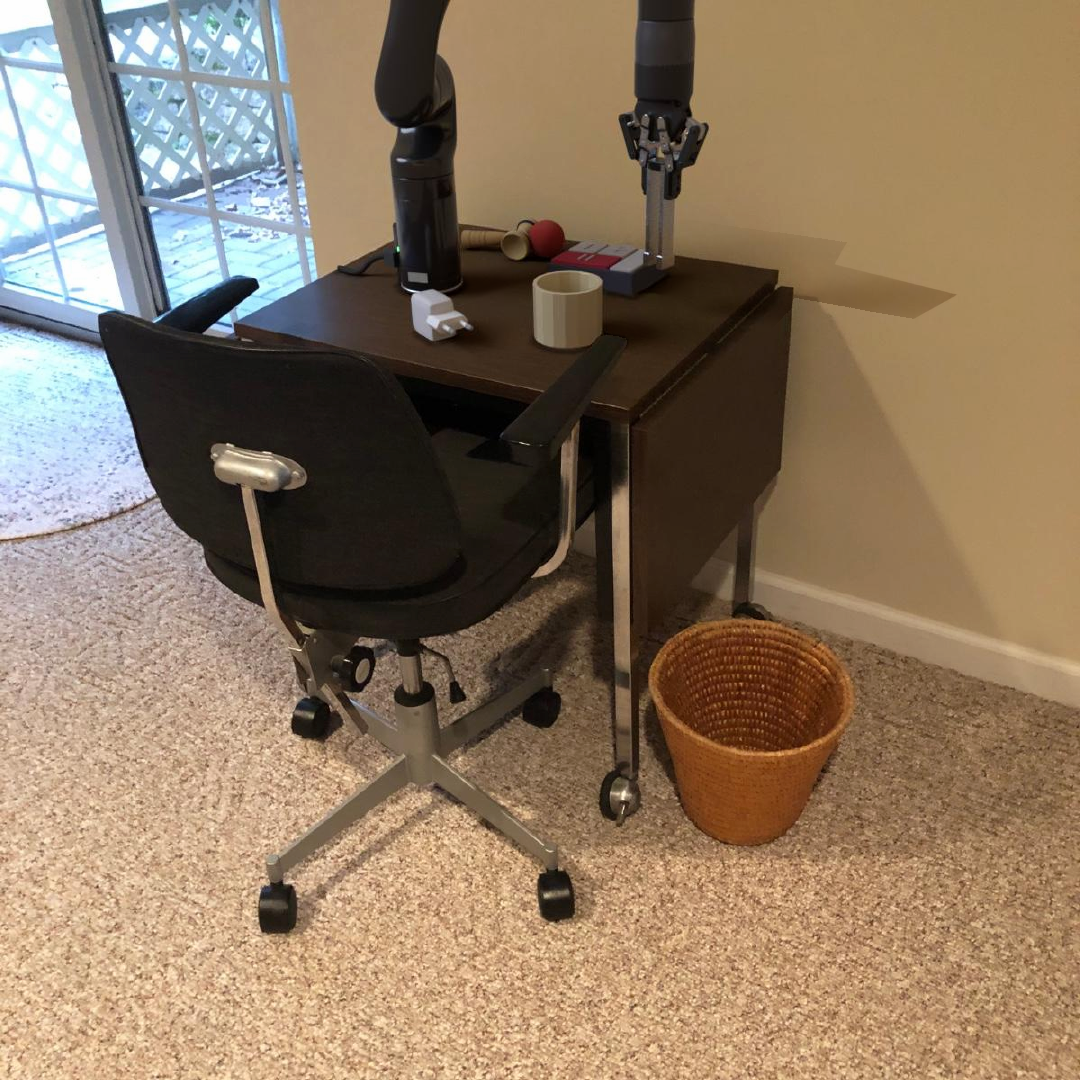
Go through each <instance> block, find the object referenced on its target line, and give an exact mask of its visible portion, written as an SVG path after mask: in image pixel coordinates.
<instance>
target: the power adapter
mask: <svg viewBox="0 0 1080 1080" xmlns="http://www.w3.org/2000/svg"><path fill="white" fill-rule="evenodd" d="M410 301H411V314H412V323H413V328H414V330H415V332H417V333H418V334H420V335H421V336H423V337H425V338H426V339H428V340H429V341H432V342H437V341H441V340H445V339H448V338H452V337H455V336H456V335H457V330H461V329H463V328H465V329H466V330H468V331H469V332H470V331H471V332H472V331H473V330H474V326H473V325H472V324H470V323H468V322H469V319H468V318H467V316H465V314H463V313H461V312H459V311H458V310H456V309H455V308H454V303H453V300H452V299H451V297H449V296H447V294H442V293H440V292H438V291H436V290H434V289H431V290H426V291H422V292H418V293H415V294H413V295H412V294H411V298H410Z"/></svg>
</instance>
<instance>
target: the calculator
mask: <svg viewBox="0 0 1080 1080" xmlns="http://www.w3.org/2000/svg"><path fill="white" fill-rule="evenodd" d="M644 252H645V248H640V249H639V248H638V247H637V246H630V245H623V244H620V245H619V244H610V245H609V244H608V243H604V242H603V243H602V242H594V241H581V242H579V243H578V244H576V245H574V246H572V247H570V248H569V249H568V250H565V251H562V252H561V253H560V254H558V255H556V256H554V257H551V258H550V261H549V262H547V264H546V266H547V267H546V268H547V269H546V270H547V273H550V272H556V271H569V270H571V271H583V272H588V273H592V274H595V275H597V276H599V277H600V278H601V279H602V280H603V290H605V291H609V292H614V293H619V294H625V295H631V296H634V295H636V294H638V293H640V291H642V290H643V291H645V290H646V289H648V288H649V287H651V286H652V285H654V284H655V283H657V282H659V281H660V280H661V279H663V278H664V277H666V276H667V268H666V269H663V270H659V269H656V264H653V265H651V266H645V265H643V253H644Z"/></svg>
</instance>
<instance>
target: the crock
mask: <svg viewBox="0 0 1080 1080" xmlns="http://www.w3.org/2000/svg"><path fill="white" fill-rule="evenodd" d="M603 292H604V289H603V280H602V279H601V278H600V277H599V276H597V275H595V274H592V273H588V272H583V271H571V270H569V271H556V272H550V273H548V272H546V273H544V274H541V275H539V276H537V277H536V278H534V279H533V281H532V310H533V311H532V313H533V336H534V339H535V340H536V341H537V342H538V343H539V344H541V345H543V346H547V347H550V348H555V349H579V348H584V347H589V346H591V344H592V343H593V342H594V341H595V339H596V338H597V337H598V336H600V335H601V334H602V335H603V318H604V317H603V316H604V315H603V313H604V311H603V307H604V304H603V303H604V302H603V301H604V300H603V299H604V296H603V295H604V293H603ZM592 345H593V344H592Z"/></svg>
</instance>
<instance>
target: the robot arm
mask: <svg viewBox="0 0 1080 1080" xmlns="http://www.w3.org/2000/svg"><path fill="white" fill-rule="evenodd" d="M451 1H452V0H389V9H388V15H387V21H386V26H385V31H384V36H383V39H382V45H381V49H380V54H379V58H378V62H377V66H376V70H375V76H374V81H373V82H374V85H373V92H374V99H375V104H376V106H377V109H378V111H379V112H380V114H381V116H382V117H383V119H384V120H385V121H386V122H387V123H389V124H390V125H391V126H393V127H395V128H397V129H396V136H395V141H394V145H393V147H392V149H391V151H390V154H389V168H390V169H389V170H390V178H391V179H390V180H391V187H392V197H393V207H394V218H395V221H394V222H393V224H392V233H393V242H394V243H393V244H394V246H390V247H387V248H383V249H382V252H381V253H376V254H374V255H372V256H370V257H368V258H367V259H366V260H365V262H364V263H363V264H362V265H361V266H360V267H358V268H351V267H347V266H344V265H340V264H338V265H337V266H336V270H337V271H338V272H341V273H343V274H348V275H350V276H357V275H358V276H359V275H362V274H364V273H365V272H366V271H367V270H368V269H369V268H370V267H371V265H372V264H373V263H375V262H377V261H380V260H383V263H384V265H385V266H387V267H391V268H393V269H396V272H397V273H396V274H397V281H398V285H400V286H401V290H402V291H403V292H404V293H406V294H409V295H411V296H412V295H413V294H415V293H418V292H422V291H426V290H431V289H434V290H436V291H438V292H440V293H442V294H444V295H448V294H451V293H454V292H456V291H458V290H460V289H461V288H462V287H463V286H464V281H463V274H462V260H461V259H462V258H461V245H460V229H459V218H458V217H459V216H458V214H459V213H458V202H457V189H456V173H455V171H456V170H455V156H456V151H457V146H458V118H457V116H458V115H457V114H458V113H457V94H456V92H457V91H456V85H455V80H454V76H453V73H452V70H451V67H450V65H449V64H448V62H447V61H446V60H445V58H443V56H441V55H440V54H439V53H438V50H439V49H438V47H439V41H440V34H441V30H442V26H443V21H444V19H445V16H446V12H447V10H448V7H449V5H450V2H451ZM695 9H696V0H637V12H636V13H637V15H636V16H637V17H636V18H637V19H636V26H635V27H636V28H635V35H634V64H633V65H634V66H633V67H634V68H633V70H634V73H633V95H634V97H635V98H636V99H637V100H636V104H635V106H634V108H633V109H634V110H631V111H627V112H624V113H621V114H619V115H618V123H619V126H620V130H621V133H622V136H623V140H624V144H625V148H626V150H627V154H628V157H629V159H630V160H631V161H637V163H638V165H639V166H640V167H641V173H640V174H641V175H640V176H641V177H640V178H641V179H640V181H641V182H640V187H641V190H642V194H643V195H644V196H647V160H650V159H653V158H657V157H659V153H660V151H661V154H663V155H664V157H663V158H665V166H666V170H667V171H666V172H665V186H664V199H665V200H673V199H675V200H676V199H678V197H679V196H680V195H681V191H682V176H683V175H682V174H683V170H684V169H687V168H689V167H692V166H694V165H695V164H696V162H697V160H698V158H699V155H700V152H701V150H702V147H703V145H704V143H705V140H706V138H707V135H708V133H709V131H710V130H709V129H710V125H709V124H708V123H707V122H701V123H700V121H698V120H696V119H695V118H694V117H693V112H692V109H691V99H692V97H693V95H694V81H695V56H696V28H695ZM674 160H675V161H674Z"/></svg>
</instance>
